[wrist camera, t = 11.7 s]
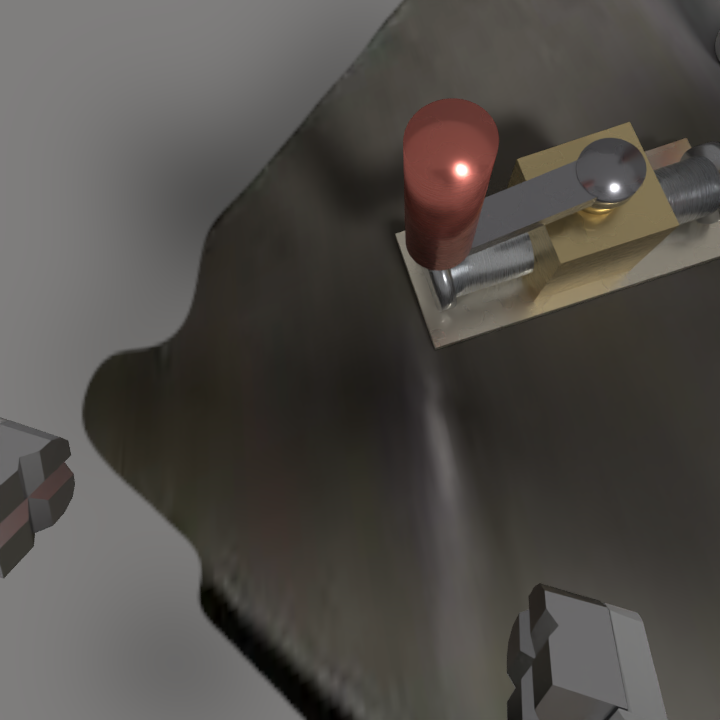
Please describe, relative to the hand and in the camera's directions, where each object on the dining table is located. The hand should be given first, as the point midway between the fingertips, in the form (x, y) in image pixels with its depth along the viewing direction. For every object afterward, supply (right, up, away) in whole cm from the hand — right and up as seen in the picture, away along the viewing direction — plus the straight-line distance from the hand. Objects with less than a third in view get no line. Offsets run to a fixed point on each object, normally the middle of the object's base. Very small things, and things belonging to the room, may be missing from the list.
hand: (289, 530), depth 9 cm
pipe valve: (+16, +11, +30) cm, 36 cm away
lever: (+10, +11, +21) cm, 26 cm away
